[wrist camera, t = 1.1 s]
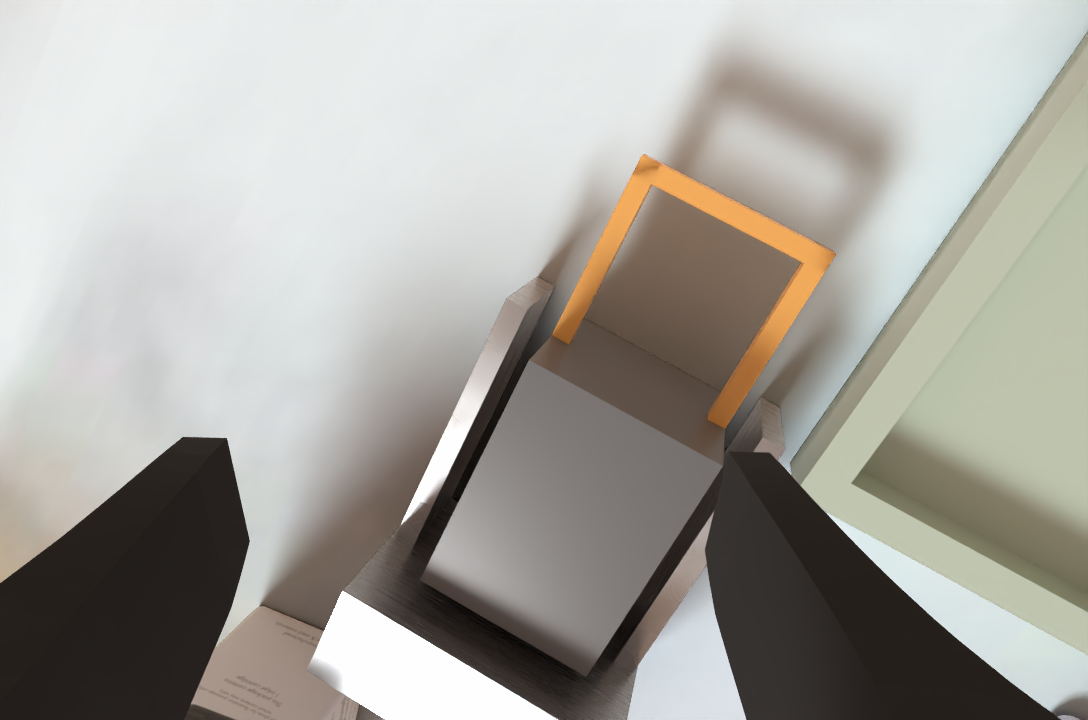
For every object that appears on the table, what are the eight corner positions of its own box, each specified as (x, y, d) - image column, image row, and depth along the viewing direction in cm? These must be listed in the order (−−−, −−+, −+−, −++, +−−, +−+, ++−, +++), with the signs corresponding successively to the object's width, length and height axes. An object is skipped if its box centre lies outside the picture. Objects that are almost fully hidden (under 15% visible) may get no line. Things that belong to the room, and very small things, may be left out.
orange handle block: (824, 238, 20) (849, 271, 15) (616, 571, 24) (586, 676, 20) (654, 151, 20) (628, 158, 16) (480, 494, 25) (419, 579, 20)
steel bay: (783, 408, 21) (796, 509, 16) (606, 675, 25) (567, 829, 20) (533, 275, 22) (461, 325, 16) (400, 554, 26) (306, 671, 20)
